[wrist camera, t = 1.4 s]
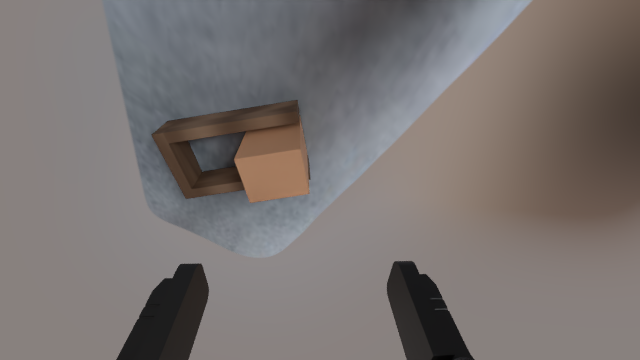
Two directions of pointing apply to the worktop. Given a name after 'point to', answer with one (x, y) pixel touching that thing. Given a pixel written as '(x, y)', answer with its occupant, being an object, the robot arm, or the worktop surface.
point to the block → (273, 162)
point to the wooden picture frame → (179, 131)
